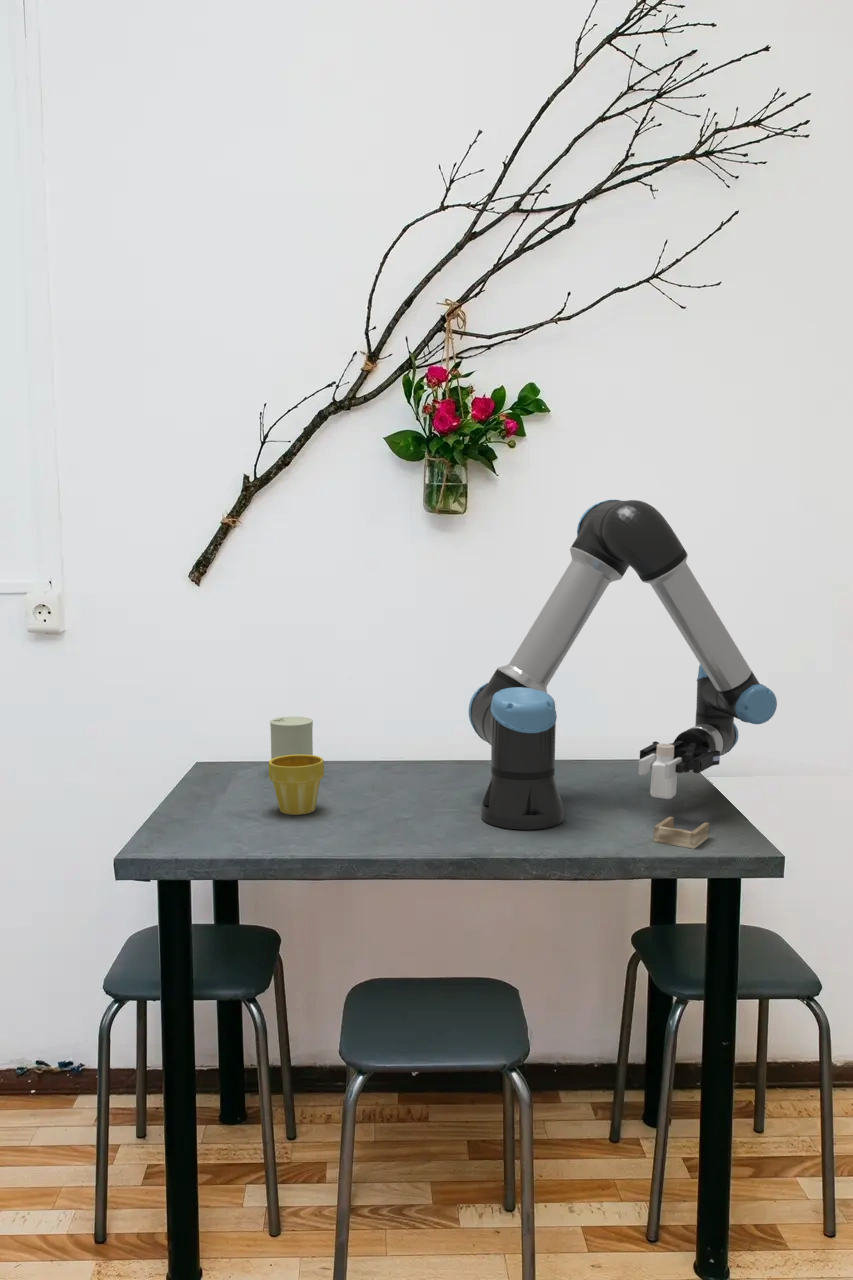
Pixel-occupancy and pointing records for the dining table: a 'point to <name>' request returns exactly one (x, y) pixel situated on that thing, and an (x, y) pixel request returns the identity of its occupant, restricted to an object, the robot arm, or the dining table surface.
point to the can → (291, 736)
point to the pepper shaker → (662, 773)
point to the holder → (680, 834)
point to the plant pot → (296, 782)
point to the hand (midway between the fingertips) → (653, 769)
